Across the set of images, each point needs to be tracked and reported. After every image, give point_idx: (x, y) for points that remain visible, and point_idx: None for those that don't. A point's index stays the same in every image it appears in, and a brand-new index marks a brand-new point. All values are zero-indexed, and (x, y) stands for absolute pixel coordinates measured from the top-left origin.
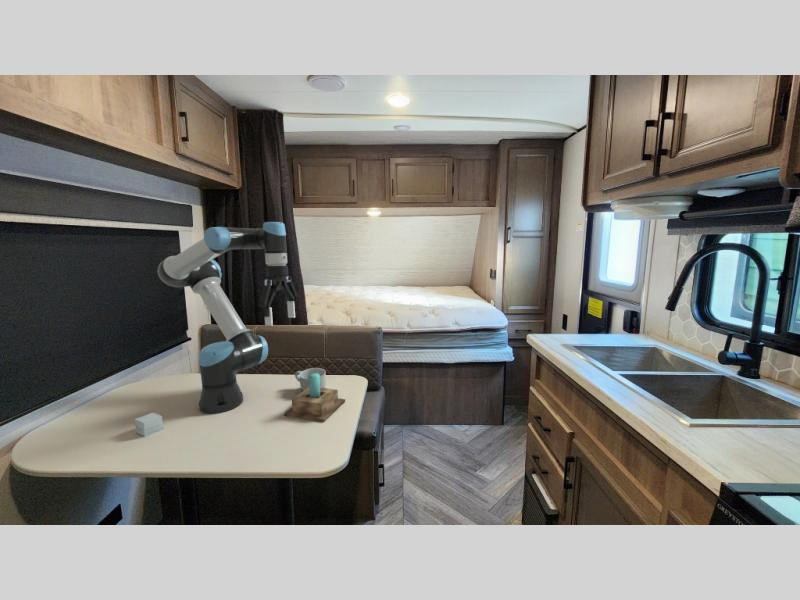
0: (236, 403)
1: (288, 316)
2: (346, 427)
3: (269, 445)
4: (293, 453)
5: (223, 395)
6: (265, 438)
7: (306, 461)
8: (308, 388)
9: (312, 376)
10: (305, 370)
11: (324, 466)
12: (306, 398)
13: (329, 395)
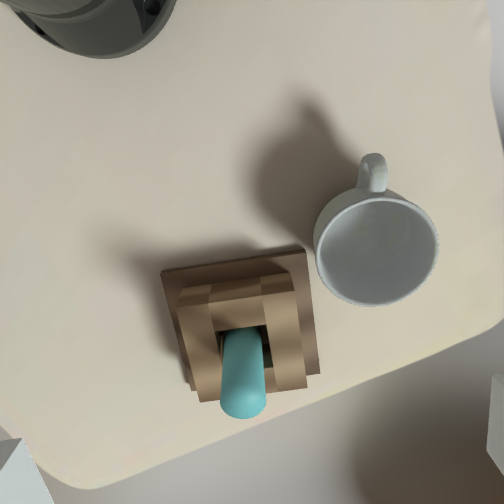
0: (107, 56)
1: (502, 389)
2: (199, 439)
3: (37, 343)
4: (53, 406)
5: (36, 23)
6: (50, 313)
7: (51, 442)
8: (275, 298)
9: (229, 404)
10: (397, 202)
11: (62, 475)
12: (206, 344)
13: None
